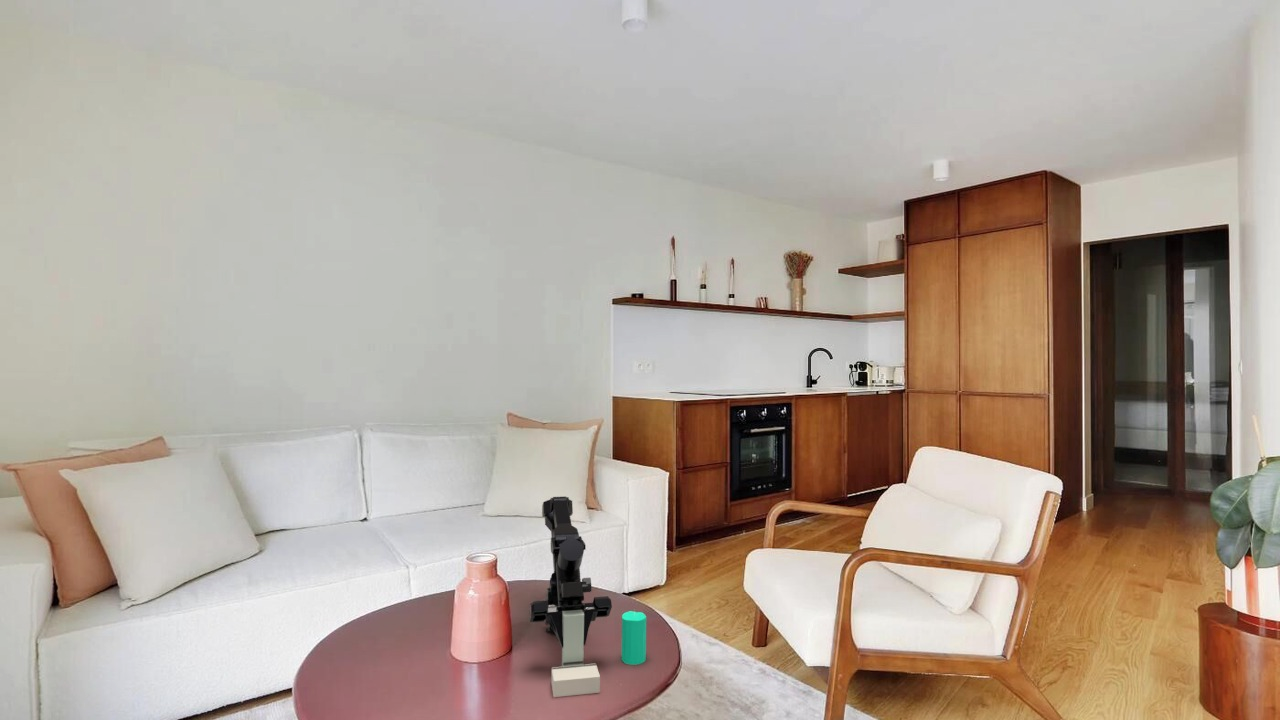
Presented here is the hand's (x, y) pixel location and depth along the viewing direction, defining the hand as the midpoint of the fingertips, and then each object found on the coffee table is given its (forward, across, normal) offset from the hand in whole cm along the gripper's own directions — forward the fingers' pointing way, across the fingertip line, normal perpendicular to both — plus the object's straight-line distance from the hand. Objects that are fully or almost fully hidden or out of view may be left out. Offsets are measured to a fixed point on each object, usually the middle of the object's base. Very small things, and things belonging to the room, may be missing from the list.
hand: (573, 646), depth 147 cm
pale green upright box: (+4, 0, +6) cm, 7 cm away
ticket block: (+8, 0, +2) cm, 8 cm away
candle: (+1, +15, +10) cm, 18 cm away
